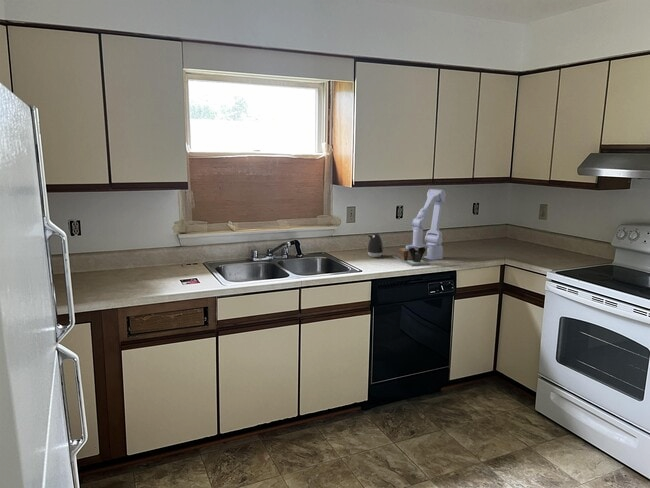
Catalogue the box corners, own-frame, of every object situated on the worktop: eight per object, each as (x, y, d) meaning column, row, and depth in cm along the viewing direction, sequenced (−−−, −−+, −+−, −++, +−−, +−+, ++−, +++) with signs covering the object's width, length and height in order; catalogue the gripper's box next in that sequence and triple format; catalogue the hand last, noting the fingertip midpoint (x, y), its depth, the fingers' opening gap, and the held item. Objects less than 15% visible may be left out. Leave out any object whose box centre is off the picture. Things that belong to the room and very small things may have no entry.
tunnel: (413, 256, 316) (414, 247, 314) (420, 259, 308) (420, 249, 307) (397, 257, 312) (398, 248, 311) (403, 260, 304) (404, 250, 303)
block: (410, 255, 312) (410, 249, 311) (413, 257, 309) (413, 250, 308) (404, 256, 311) (404, 250, 310) (407, 257, 307) (408, 251, 306)
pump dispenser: (364, 255, 320) (364, 232, 317) (378, 254, 324) (379, 231, 321) (370, 258, 311) (371, 235, 308) (385, 257, 315) (386, 234, 312)
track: (409, 256, 321) (409, 254, 321) (429, 264, 298) (429, 262, 298) (393, 257, 317) (393, 255, 317) (412, 266, 294) (412, 264, 294)
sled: (410, 256, 315) (411, 248, 314) (422, 261, 301) (423, 253, 300) (400, 256, 312) (401, 249, 311) (412, 262, 299) (413, 254, 298)
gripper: (410, 239, 292) (409, 262, 295) (431, 238, 297) (430, 260, 300) (404, 237, 299) (403, 259, 301) (425, 236, 303) (424, 258, 306)
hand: (416, 259), depth 301 cm, fingers closed on sled, 4 cm apart
